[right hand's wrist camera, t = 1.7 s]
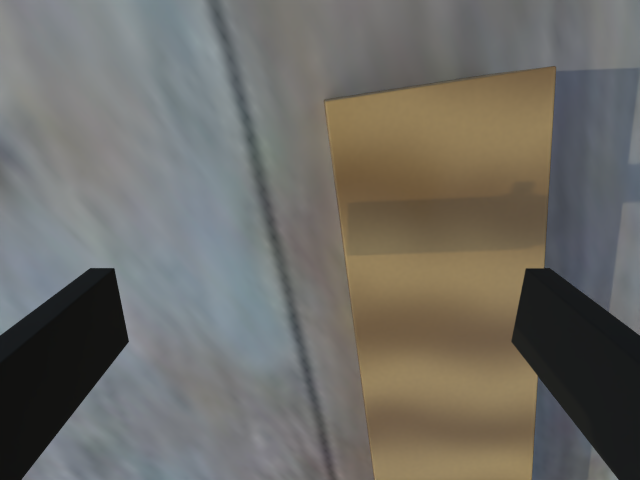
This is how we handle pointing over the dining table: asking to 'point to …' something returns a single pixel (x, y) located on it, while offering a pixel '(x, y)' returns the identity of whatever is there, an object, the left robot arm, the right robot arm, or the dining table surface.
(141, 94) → the dining table surface
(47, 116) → the dining table surface
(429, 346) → the wooden beam
